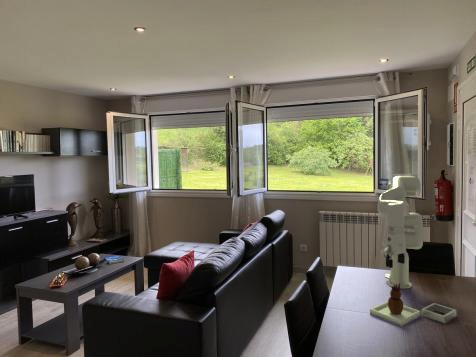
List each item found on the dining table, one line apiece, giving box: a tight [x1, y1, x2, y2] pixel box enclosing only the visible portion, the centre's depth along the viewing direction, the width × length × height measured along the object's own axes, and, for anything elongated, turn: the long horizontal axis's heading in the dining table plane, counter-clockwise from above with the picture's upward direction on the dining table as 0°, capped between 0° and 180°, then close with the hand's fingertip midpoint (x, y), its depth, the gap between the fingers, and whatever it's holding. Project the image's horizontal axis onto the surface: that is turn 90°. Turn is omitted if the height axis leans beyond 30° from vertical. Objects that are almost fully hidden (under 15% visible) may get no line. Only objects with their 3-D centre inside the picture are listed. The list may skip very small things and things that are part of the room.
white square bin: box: [420, 302, 457, 324], centre depth 170 cm, size 10×11×3 cm
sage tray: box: [369, 300, 421, 327], centre depth 172 cm, size 16×16×2 cm
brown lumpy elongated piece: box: [387, 283, 404, 315], centre depth 171 cm, size 7×6×15 cm
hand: (395, 265), depth 171 cm, fingers open, 9 cm apart
